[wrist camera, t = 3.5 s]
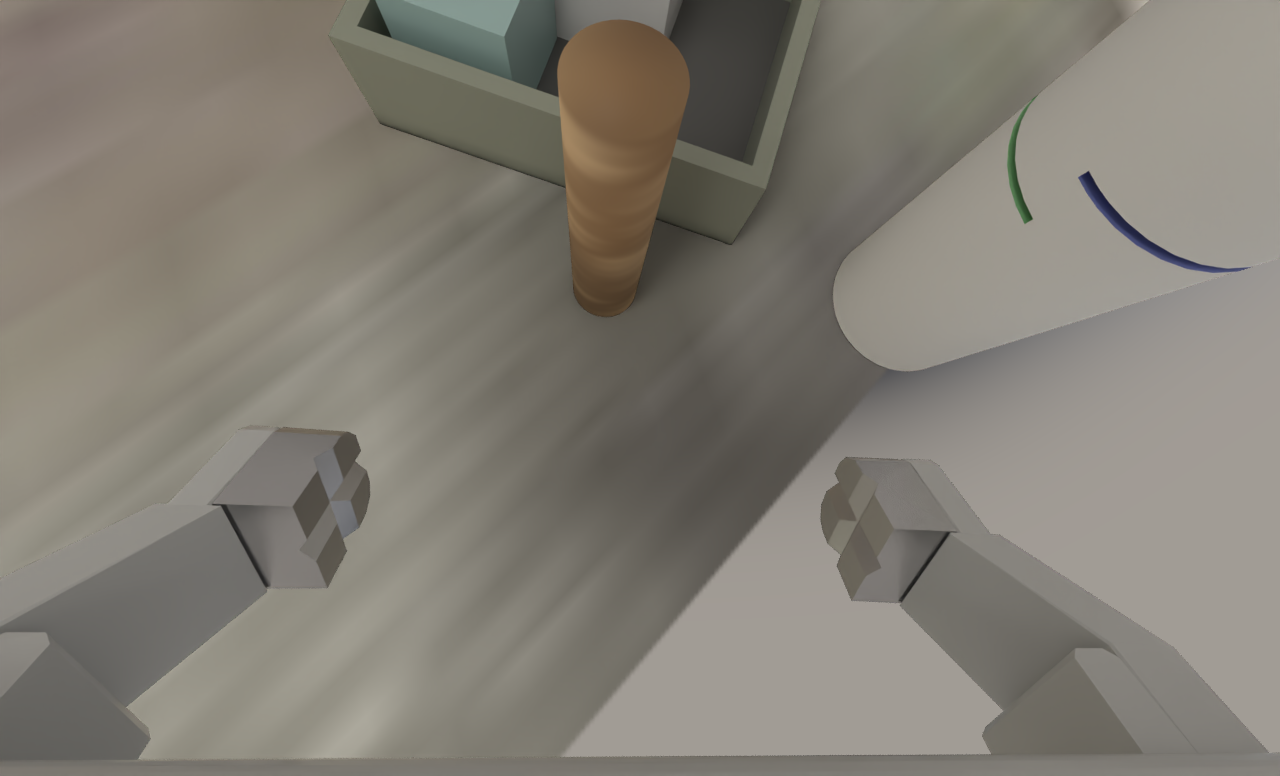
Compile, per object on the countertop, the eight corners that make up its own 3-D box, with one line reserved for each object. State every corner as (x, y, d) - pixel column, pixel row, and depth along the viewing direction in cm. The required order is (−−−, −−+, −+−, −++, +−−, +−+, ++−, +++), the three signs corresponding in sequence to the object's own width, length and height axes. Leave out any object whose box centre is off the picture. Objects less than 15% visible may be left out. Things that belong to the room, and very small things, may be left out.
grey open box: (380, 123, 24) (299, -15, 17) (487, -104, 27) (454, -299, 20) (731, 244, 25) (785, 158, 18) (800, 12, 28) (869, -138, 21)
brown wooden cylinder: (564, 305, 24) (538, 110, 11) (584, 248, 24) (582, 1, 12) (625, 325, 24) (667, 155, 11) (643, 269, 24) (705, 46, 12)
